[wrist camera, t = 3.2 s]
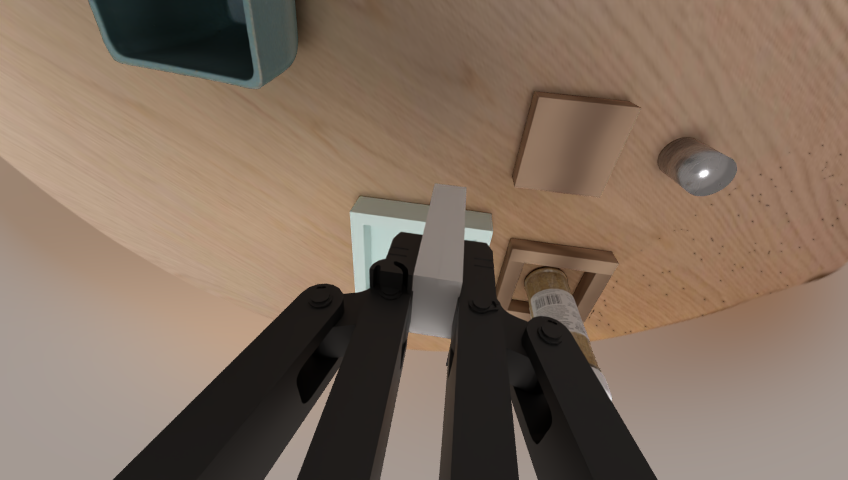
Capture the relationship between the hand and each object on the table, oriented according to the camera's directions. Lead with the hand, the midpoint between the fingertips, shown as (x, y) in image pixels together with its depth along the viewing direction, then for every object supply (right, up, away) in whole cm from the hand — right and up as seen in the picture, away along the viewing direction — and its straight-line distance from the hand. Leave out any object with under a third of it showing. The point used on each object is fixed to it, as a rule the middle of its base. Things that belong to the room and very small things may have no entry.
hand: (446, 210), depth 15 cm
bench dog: (+19, +5, +10) cm, 22 cm away
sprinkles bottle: (+12, -6, +19) cm, 23 cm away
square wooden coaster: (+10, +7, +10) cm, 16 cm away
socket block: (+12, -6, +19) cm, 23 cm away
